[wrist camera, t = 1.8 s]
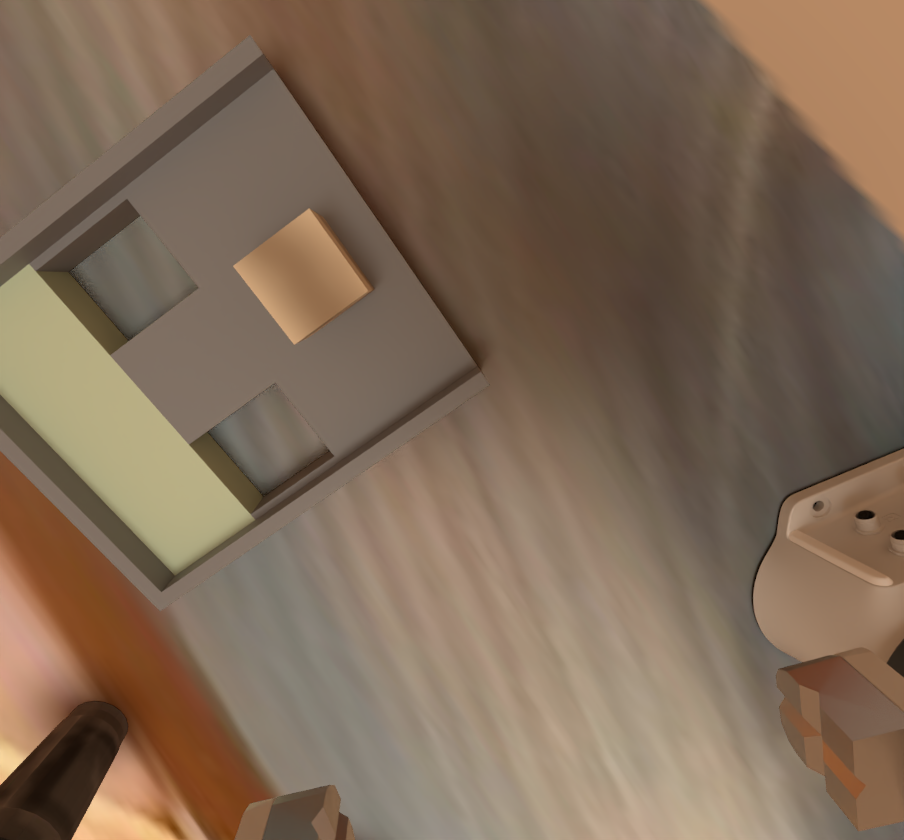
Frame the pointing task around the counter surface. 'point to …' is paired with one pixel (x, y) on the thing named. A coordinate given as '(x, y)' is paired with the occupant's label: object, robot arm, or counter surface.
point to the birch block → (304, 276)
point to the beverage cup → (61, 775)
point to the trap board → (207, 336)
